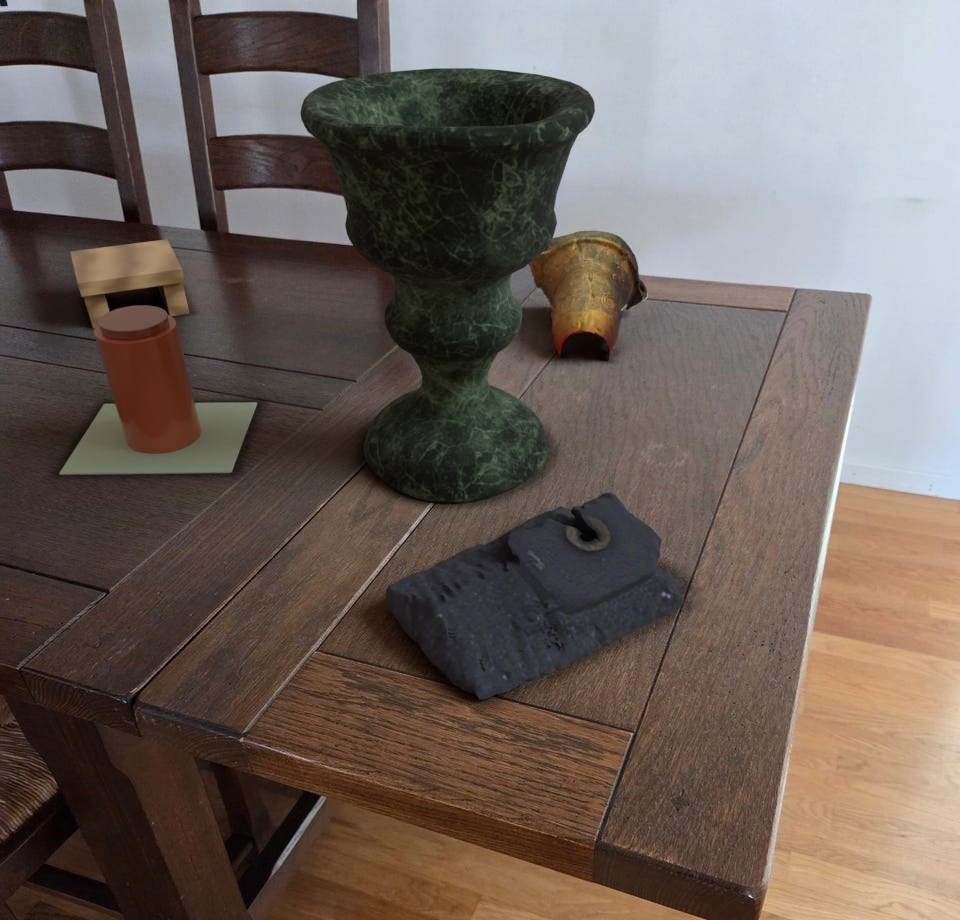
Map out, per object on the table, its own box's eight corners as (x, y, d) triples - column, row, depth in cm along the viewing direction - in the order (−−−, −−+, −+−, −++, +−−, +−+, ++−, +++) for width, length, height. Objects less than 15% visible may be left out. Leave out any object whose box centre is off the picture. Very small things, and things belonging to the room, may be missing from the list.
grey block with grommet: (359, 601, 69) (353, 551, 66) (577, 510, 78) (581, 462, 75) (472, 718, 60) (472, 667, 56) (704, 599, 69) (715, 549, 66)
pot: (521, 288, 94) (536, 185, 102) (489, 364, 103) (506, 263, 112) (669, 339, 97) (671, 235, 106) (625, 408, 107) (630, 307, 115)
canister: (117, 454, 85) (80, 334, 77) (137, 418, 90) (104, 302, 83) (192, 453, 85) (162, 333, 77) (208, 417, 91) (182, 302, 83)
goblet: (301, 492, 81) (241, 116, 61) (395, 385, 97) (373, 60, 77) (534, 535, 75) (553, 140, 55) (593, 415, 91) (624, 74, 71)
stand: (92, 333, 107) (77, 283, 103) (84, 299, 116) (70, 251, 112) (192, 318, 111) (181, 268, 107) (178, 285, 119) (167, 239, 115)
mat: (60, 477, 83) (58, 473, 82) (105, 407, 93) (104, 403, 93) (231, 475, 83) (231, 471, 83) (257, 405, 93) (257, 402, 93)
